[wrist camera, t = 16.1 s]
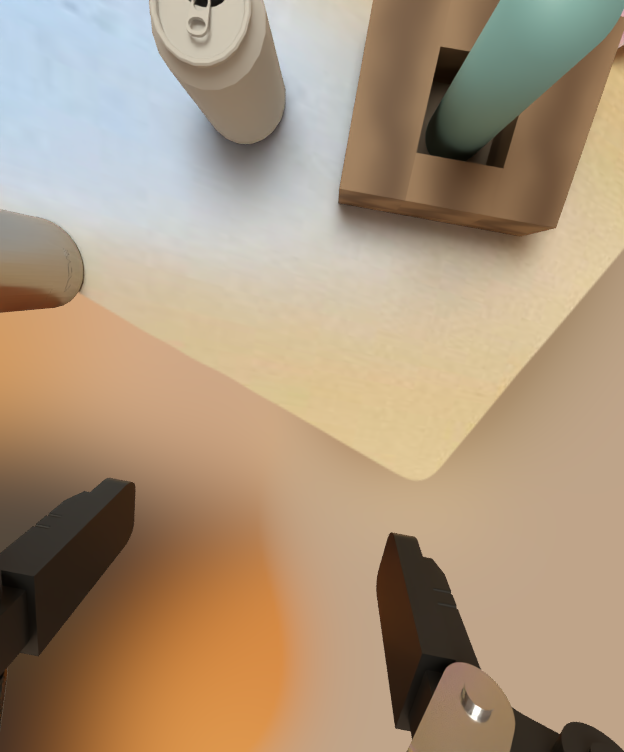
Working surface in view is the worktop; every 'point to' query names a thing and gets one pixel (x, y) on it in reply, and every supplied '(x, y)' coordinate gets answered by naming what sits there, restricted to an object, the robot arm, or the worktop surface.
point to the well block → (494, 160)
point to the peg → (515, 68)
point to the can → (223, 62)
